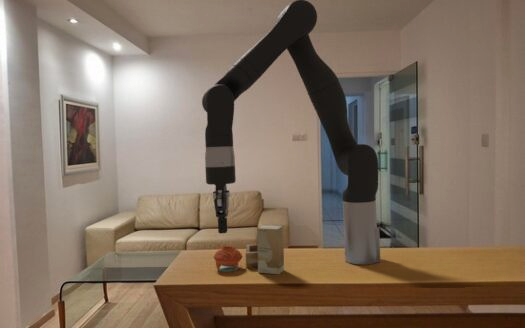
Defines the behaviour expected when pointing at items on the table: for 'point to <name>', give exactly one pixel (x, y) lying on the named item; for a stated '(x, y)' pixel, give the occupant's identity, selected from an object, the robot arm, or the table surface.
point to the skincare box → (270, 249)
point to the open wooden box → (251, 256)
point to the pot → (227, 257)
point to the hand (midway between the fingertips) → (223, 232)
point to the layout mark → (227, 268)
